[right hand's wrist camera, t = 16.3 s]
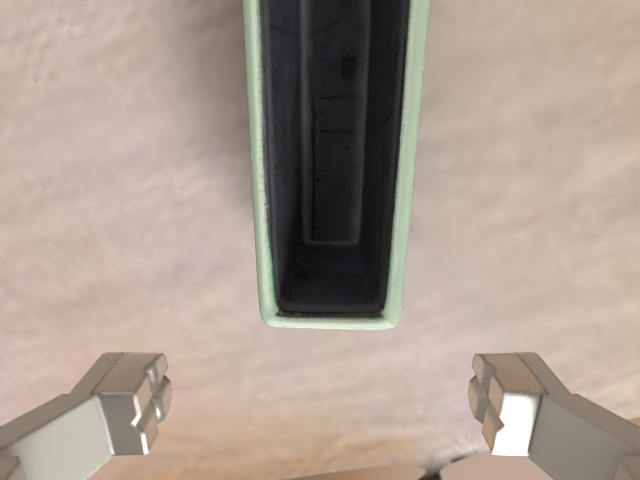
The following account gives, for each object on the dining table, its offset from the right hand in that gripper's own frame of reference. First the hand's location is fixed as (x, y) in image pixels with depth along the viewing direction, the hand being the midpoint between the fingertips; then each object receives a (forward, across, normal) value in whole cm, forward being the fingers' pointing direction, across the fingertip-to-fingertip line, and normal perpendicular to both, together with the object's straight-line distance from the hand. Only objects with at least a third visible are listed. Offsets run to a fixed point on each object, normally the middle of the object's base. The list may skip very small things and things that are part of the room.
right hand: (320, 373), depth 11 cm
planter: (+16, +1, +10) cm, 18 cm away
